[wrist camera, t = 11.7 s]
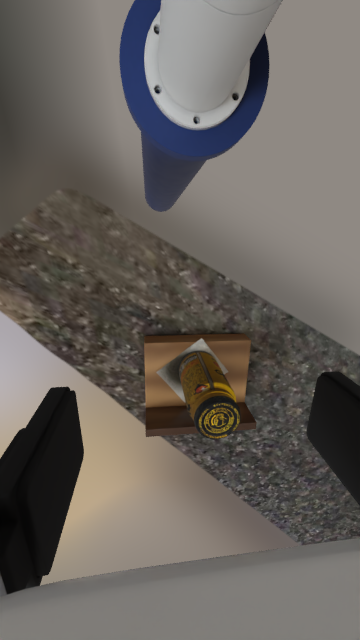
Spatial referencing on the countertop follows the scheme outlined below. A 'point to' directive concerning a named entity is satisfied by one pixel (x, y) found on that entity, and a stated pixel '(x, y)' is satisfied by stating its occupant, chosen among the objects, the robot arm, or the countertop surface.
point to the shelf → (165, 405)
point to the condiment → (204, 390)
